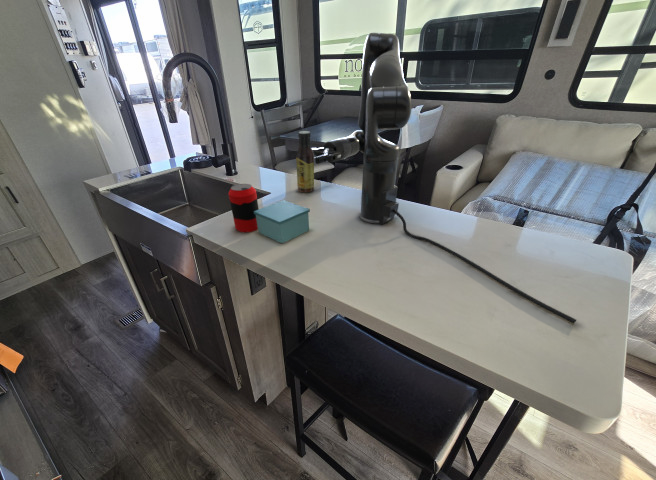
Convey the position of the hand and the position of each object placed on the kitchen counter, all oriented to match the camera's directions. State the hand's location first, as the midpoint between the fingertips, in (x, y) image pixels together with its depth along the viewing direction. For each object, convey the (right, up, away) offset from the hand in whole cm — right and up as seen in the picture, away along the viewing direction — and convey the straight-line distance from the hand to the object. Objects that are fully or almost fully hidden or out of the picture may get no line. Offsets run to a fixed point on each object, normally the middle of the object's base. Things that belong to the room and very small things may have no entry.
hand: (307, 158), depth 110 cm
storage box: (-7, -30, -21) cm, 37 cm away
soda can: (-17, -28, -18) cm, 38 cm away
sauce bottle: (-1, -9, +6) cm, 11 cm away
